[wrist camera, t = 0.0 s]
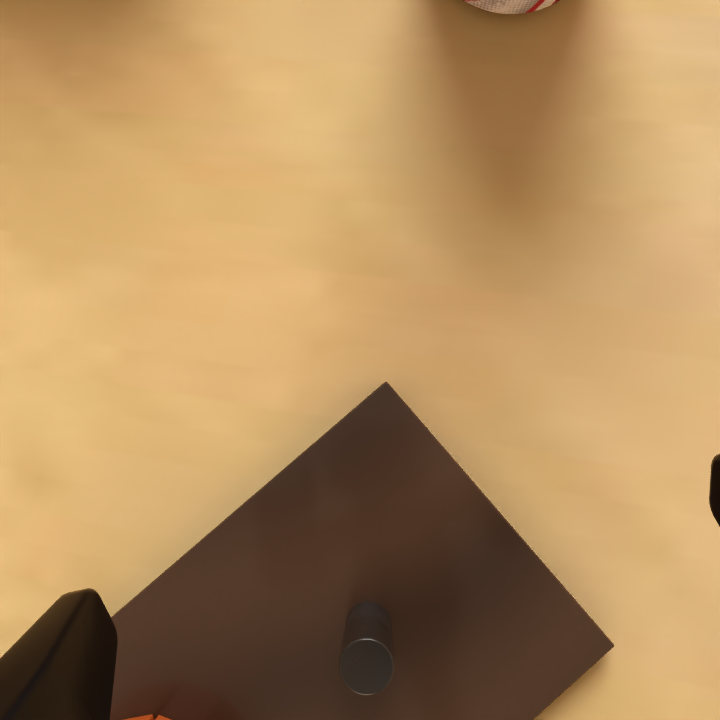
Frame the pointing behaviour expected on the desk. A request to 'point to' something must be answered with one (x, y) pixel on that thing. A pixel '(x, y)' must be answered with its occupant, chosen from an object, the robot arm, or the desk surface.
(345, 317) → the desk surface
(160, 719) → the ring
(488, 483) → the desk surface
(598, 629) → the peg board
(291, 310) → the desk surface
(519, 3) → the soda can
